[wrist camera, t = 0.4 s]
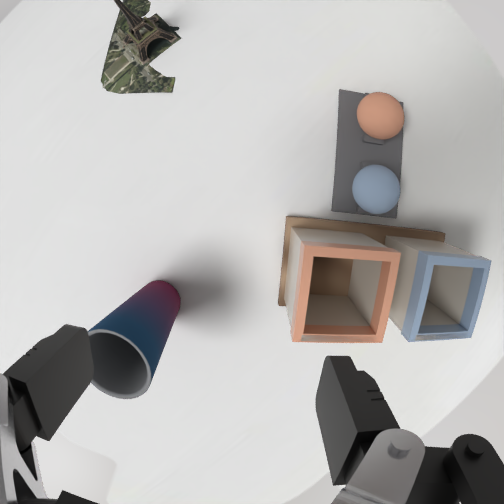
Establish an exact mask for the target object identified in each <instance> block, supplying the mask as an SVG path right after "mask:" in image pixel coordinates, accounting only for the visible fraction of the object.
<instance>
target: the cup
mask: <svg viewBox="0 0 504 504" xmlns="http://www.w3.org/2000/svg"><path fill="white" fill-rule="evenodd" d="M180 303H181V302H180V296H179V294H178V292H177V290H176V289H175V288H174V287H173V286H172V285H171V284H169V283H167V282H164V281H152V282H150V283H148V284H147V285H146V286H144V287H143V288H142V289H141V290H139V291H138V292H137V293H135V294H134V295H133V296H132V297H130V298H129V299H128V300H127V301H125V302H124V303H123V304H121V305H120V306H119V307H118V308H116V309H115V310H114V311H113V312H111V313H110V314H109V315H108V316H106V317H105V318H104V319H103V320H101V321H100V322H99V323H98V324H96V325H95V326H94V327H93V328H91V329H90V330H89V331H88V336H89V342H90V348H91V354H92V360H93V365H94V373H93V378H92V381H91V383H92V384H93V385H94V386H95V387H96V388H97V389H99V390H100V391H102V392H104V393H106V394H108V395H110V396H112V397H116V398H121V399H133V398H136V397H139V396H141V395H143V394H144V393H145V392H146V391H147V390H148V388H149V386H150V384H151V381H152V378H153V376H154V373H155V370H156V368H157V365H158V362H159V360H160V357H161V354H162V352H163V349H164V347H165V344H166V341H167V339H168V336H169V334H170V331H171V329H172V326H173V323H174V321H175V318H176V316H177V313H178V311H179V308H180Z"/></svg>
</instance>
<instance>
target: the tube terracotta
mask: <svg viewBox="0 0 504 504" xmlns="http://www.w3.org/2000/svg"><path fill="white" fill-rule="evenodd" d="M314 256H316V257H331V258H345V259H353V266H352V272H351V279H350V285H349V291H348V296H336V295H315V294H309V289H310V281H311V274H312V265H313V257H314ZM400 256H401V253H400V252H399V251H397V250H395V249H393V248H388V247H386V246H385V245H383V244H381V243H379V242H377V241H376V240H374V239H372V238H370V237H368V236H366V235H365V234H363V233H355V232H344V231H333V230H321V229H309V228H297V227H291V234H290V245H289V255H288V265H287V275H286V285H285V294H284V300H285V304H286V308H287V313H288V317H289V322H290V326H291V331H290V332H291V337H292V342H317V343H382V341H383V337H384V333H385V329H386V325H387V321H388V317H389V312H390V308H391V303H392V299H393V294H394V289H395V284H396V279H397V273H398V268H399V262H400Z"/></svg>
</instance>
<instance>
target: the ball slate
mask: <svg viewBox="0 0 504 504" xmlns="http://www.w3.org/2000/svg"><path fill="white" fill-rule="evenodd" d="M352 191H353V196H354V199H355V201H356V202H357V204H358V205H359V206H360V207H361V208H362V209H363V210H365V211H367V212H369V213H372V214H382V213H386V212H388V211H390V210H391V209H392V208H393V207H394V206H395V205H396V204H397V202H398V200H399V197H400V184H399V181H398V178H397V177H396V175H395V174H394V173H393V172H392V171H391V170H390V169H388V168H387V167H385V166H382V165H369V166H366V167H364V168H363V169H361V170H360V171H359V172H358V173H357V175H356V176H355V178H354V181H353V186H352Z"/></svg>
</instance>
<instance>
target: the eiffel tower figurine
mask: <svg viewBox="0 0 504 504" xmlns="http://www.w3.org/2000/svg"><path fill="white" fill-rule="evenodd" d="M114 1H115V3H116V4H117V6H118V7H119V8H120V12H119V15H118V18H117V21H116V24H115V28H114V31H113V34H112V38H111V41H110V45H109V48H108V52H107V56H106V60H105V64H104V69H103V73H102V78H101V82H102V83H103V88H105V89H106V90H107V91H110V92H114V93H119V94H123V93H151V92H171V93H172V89H173V85H174V81H175V77H165V76H163V75H162V74H161V73H159V72H158V71H156V70H154V68H152V67H151V66H150V65H149V63H150V62H151V61H153V60H154V59H155V58H156V57H157V56H159V55H160V54H161V53H163V52H164V51H165V50H166V49H168V48H169V47H170V46H172V45H173V44H174V43H176V42H177V41H178V40H180V39H181V37H180V36H179V35H178V34H177V33H176V32H175V31H176V30H179V27H171V26H169V25H168V24H167V23H166V22H165V21H164V20H163V19H162V18H161V17H160V16H158V15H157V14H154V15H153V16H152V17H150V18H146V17H144V18H141V17H142V16H145V15H146V14H147V13H148V12H149V9H150V4H151V2H149V1H148V0H123V3H122V2H121V1H120V0H114Z"/></svg>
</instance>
